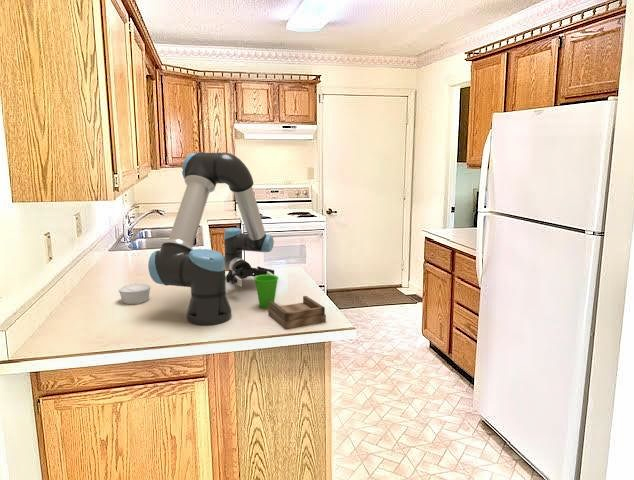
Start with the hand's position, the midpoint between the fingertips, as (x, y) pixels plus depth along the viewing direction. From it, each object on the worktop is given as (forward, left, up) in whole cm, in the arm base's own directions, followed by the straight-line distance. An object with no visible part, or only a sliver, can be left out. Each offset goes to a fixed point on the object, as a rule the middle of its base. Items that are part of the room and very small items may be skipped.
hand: (257, 280), depth 182 cm
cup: (+3, -9, -7) cm, 12 cm away
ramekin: (-47, +3, -7) cm, 47 cm away
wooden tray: (+13, -23, -7) cm, 28 cm away
